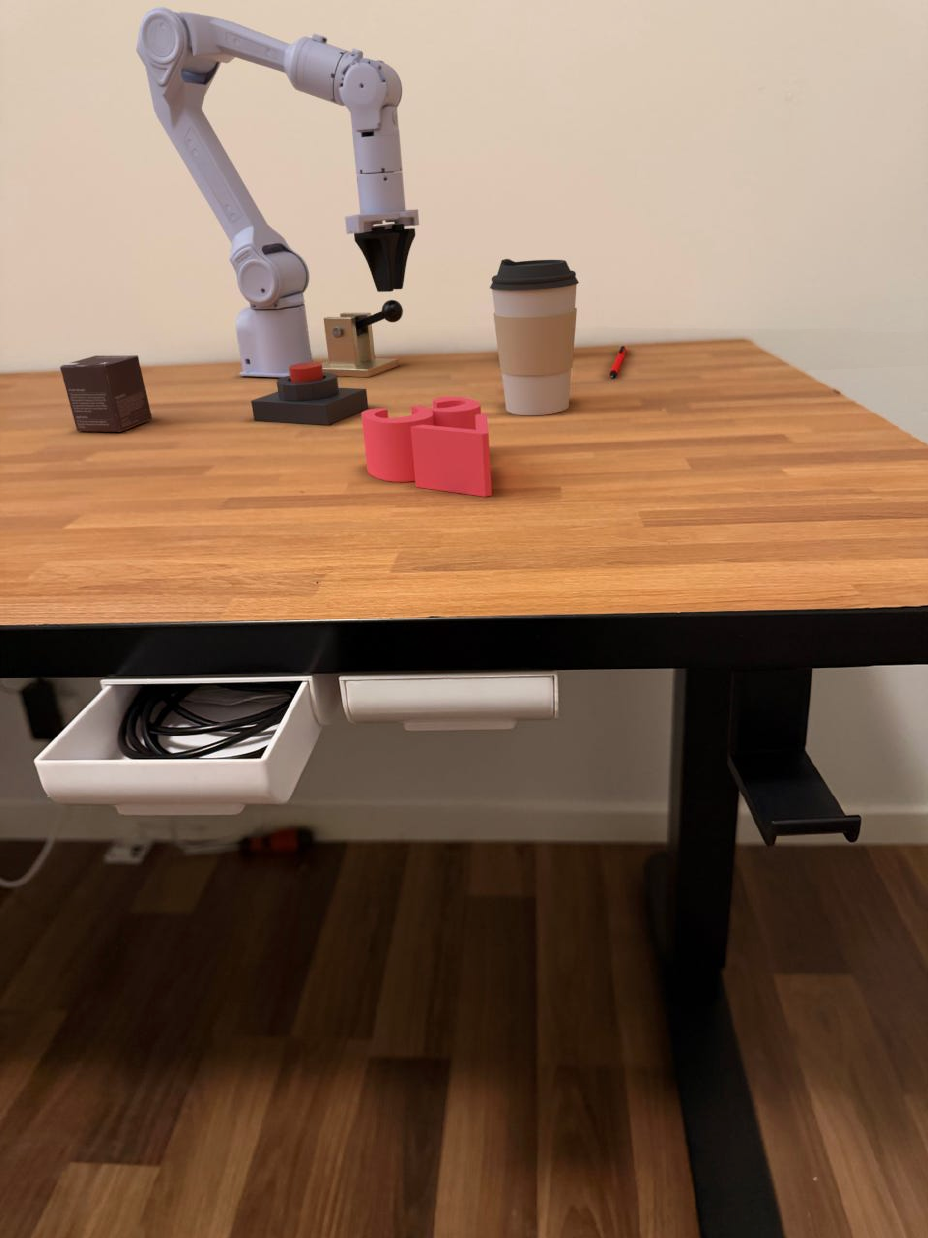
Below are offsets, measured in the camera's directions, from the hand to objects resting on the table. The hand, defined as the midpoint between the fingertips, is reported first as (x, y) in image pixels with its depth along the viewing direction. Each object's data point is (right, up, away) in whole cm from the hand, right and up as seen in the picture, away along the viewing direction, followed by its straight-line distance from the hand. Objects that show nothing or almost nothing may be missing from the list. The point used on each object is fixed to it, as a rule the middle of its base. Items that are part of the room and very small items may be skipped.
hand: (390, 290), depth 116 cm
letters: (+8, -31, -40) cm, 51 cm away
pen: (+30, -10, 0) cm, 31 cm away
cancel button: (-8, -16, -17) cm, 25 cm away
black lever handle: (-2, -4, +4) cm, 6 cm away
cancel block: (-7, -20, -16) cm, 26 cm away
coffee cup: (+18, -20, -20) cm, 33 cm away
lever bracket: (-6, -8, +8) cm, 13 cm away
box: (-30, -21, -15) cm, 40 cm away
